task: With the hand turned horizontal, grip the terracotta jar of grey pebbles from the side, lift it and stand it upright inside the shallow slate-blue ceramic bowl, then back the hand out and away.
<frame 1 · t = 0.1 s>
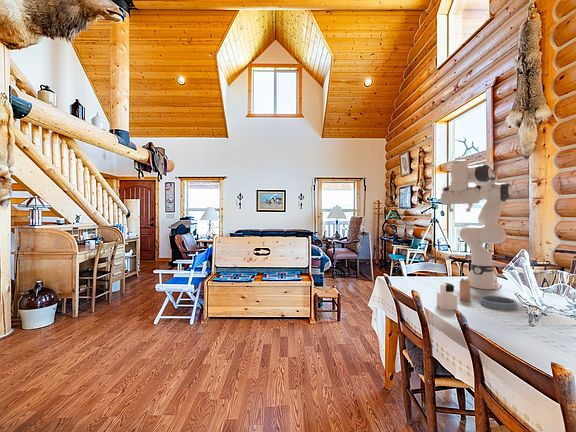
hand: (459, 211, 175), 48 cm above the table, tool pointing down, fingers open, 8 cm apart
bowl: (498, 305, 154), on the table
medicine bottle: (446, 308, 151), on the table
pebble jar: (464, 299, 165), on the table
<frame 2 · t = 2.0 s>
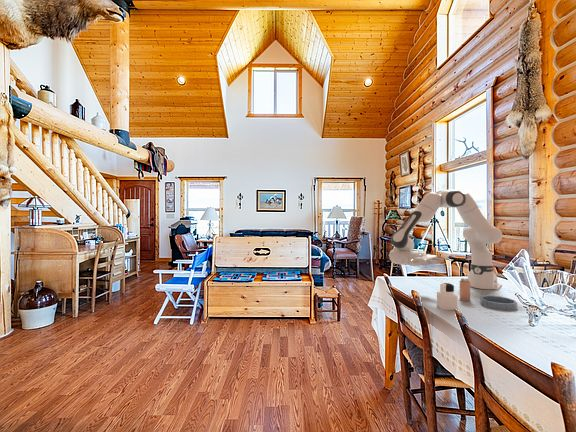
hand: (440, 261, 173), 20 cm above the table, tool horizontal, fingers open, 8 cm apart
nothing on the table moved.
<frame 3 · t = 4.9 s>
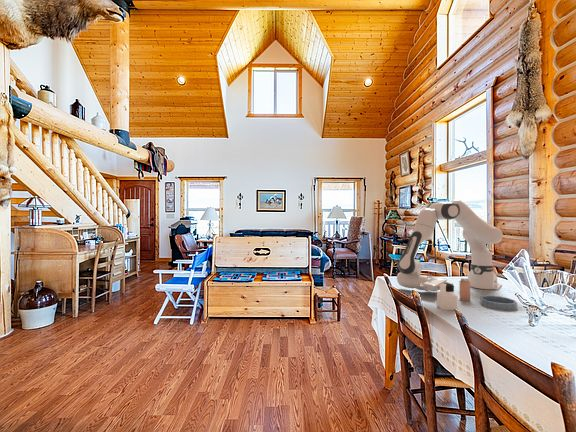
hand: (450, 286, 169), 6 cm above the table, tool horizontal, fingers open, 8 cm apart
nothing on the table moved.
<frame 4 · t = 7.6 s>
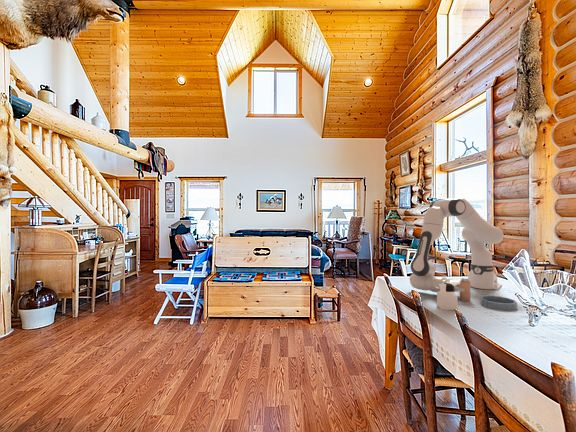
hand: (466, 289, 164), 6 cm above the table, tool horizontal, fingers closed on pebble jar, 5 cm apart
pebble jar: (464, 299, 165), on the table, touching gripper
everything else where it was.
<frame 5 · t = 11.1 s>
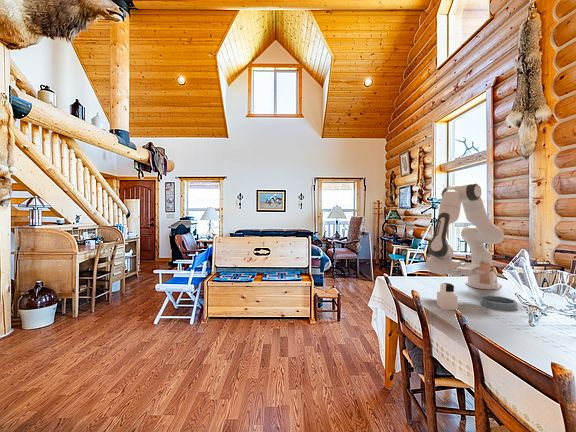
hand: (486, 271, 158), 17 cm above the table, tool horizontal, fingers closed on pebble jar, 5 cm apart
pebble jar: (484, 282, 158), point 11 cm above the table, touching gripper
everything else where it was.
when the fingers open (8 cm above the table, at t = 14.7 s): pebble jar drops 1 cm, resting on bowl.
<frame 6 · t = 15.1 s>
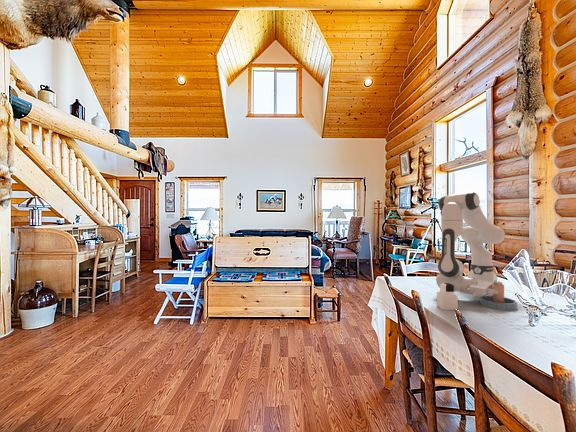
hand: (500, 290, 154), 8 cm above the table, tool horizontal, fingers open, 8 cm apart
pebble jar: (498, 304, 154), point 1 cm above the table, touching bowl
everything else where it was.
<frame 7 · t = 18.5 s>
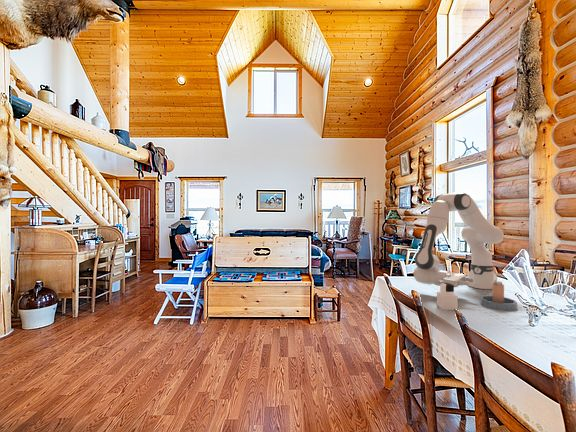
hand: (471, 282, 163), 10 cm above the table, tool horizontal, fingers open, 8 cm apart
nothing on the table moved.
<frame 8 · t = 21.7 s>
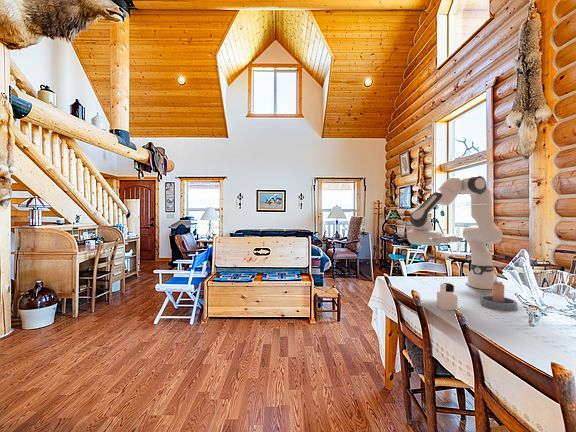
hand: (460, 239, 172), 32 cm above the table, tool horizontal, fingers open, 8 cm apart
nothing on the table moved.
at the end: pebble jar inside the target area on the bowl (0.0 cm from its centre), point 0.8 cm above the bowl's base; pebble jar tilted 0°; the gripper is holding nothing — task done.
